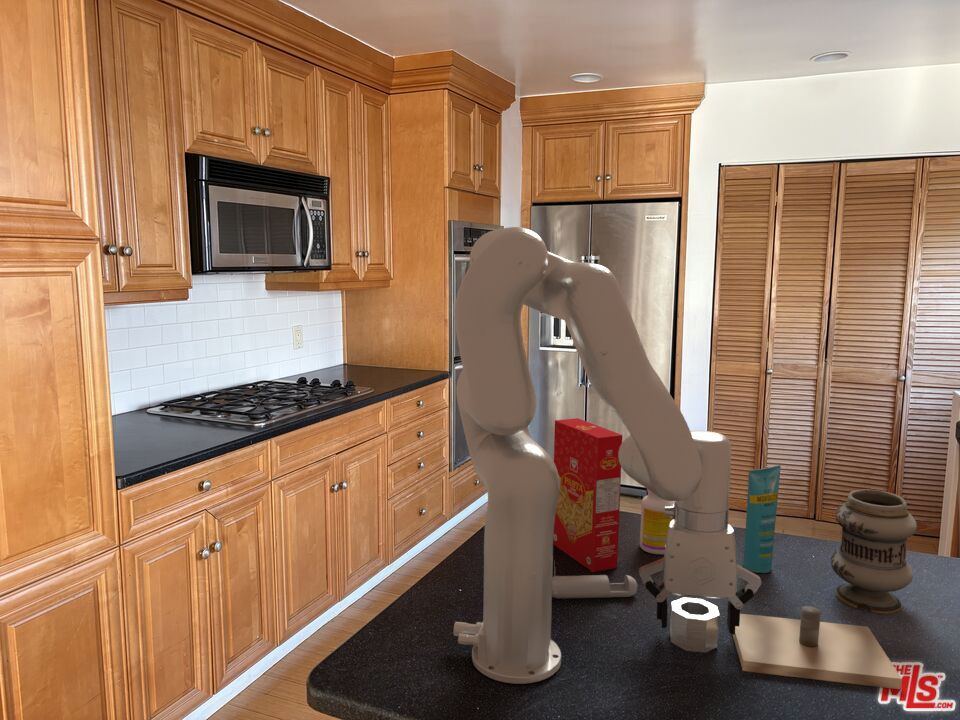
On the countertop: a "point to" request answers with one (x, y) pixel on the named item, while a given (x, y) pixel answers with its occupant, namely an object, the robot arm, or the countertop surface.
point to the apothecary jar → (873, 550)
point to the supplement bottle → (654, 523)
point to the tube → (761, 518)
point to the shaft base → (813, 650)
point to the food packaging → (587, 493)
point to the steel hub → (694, 624)
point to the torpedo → (591, 587)
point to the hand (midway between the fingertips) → (697, 626)
